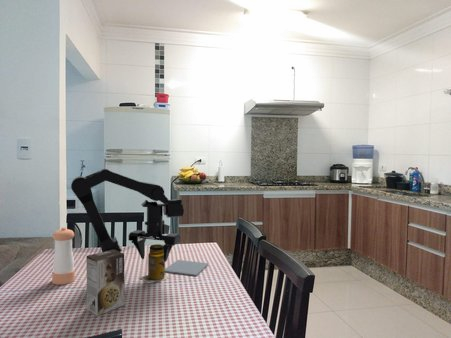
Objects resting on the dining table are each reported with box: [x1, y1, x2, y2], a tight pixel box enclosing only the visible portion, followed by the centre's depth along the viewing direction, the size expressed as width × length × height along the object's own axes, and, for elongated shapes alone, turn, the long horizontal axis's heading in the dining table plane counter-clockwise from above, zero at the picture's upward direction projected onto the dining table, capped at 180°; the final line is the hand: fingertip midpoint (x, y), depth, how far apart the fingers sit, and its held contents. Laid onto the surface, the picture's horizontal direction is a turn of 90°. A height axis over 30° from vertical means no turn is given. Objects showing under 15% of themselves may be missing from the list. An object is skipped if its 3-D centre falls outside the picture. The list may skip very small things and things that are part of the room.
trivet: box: [165, 259, 210, 277], centre depth 136 cm, size 14×14×1 cm
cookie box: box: [86, 250, 126, 316], centre depth 100 cm, size 9×6×16 cm
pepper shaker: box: [51, 227, 76, 285], centre depth 120 cm, size 7×7×19 cm
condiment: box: [139, 243, 169, 284], centre depth 124 cm, size 7×8×12 cm
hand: (154, 260), depth 124 cm, fingers open, 9 cm apart
